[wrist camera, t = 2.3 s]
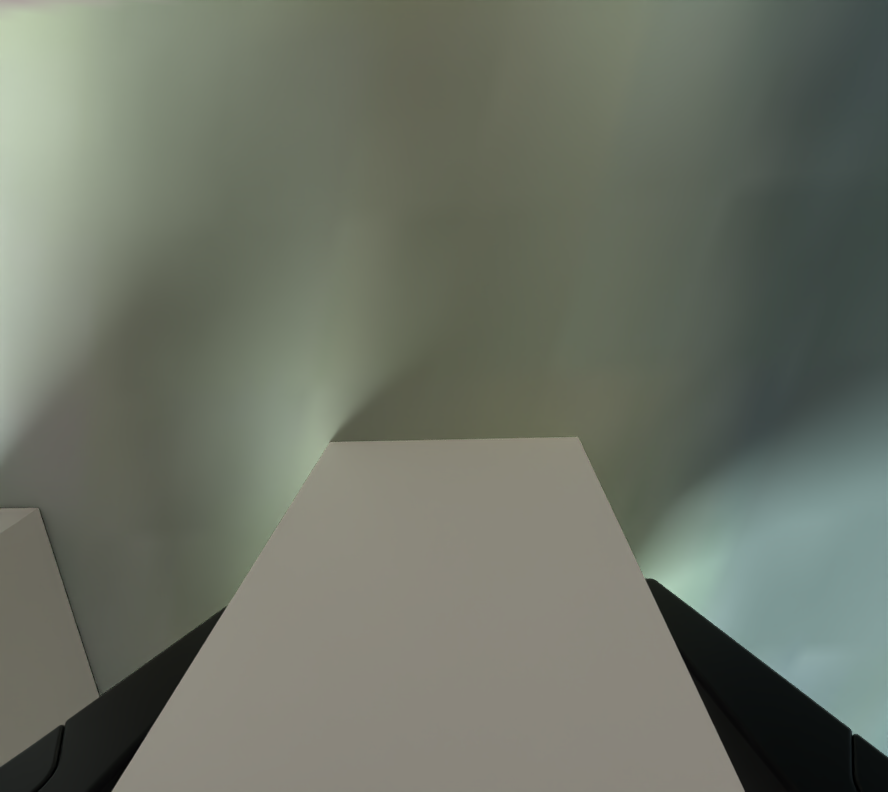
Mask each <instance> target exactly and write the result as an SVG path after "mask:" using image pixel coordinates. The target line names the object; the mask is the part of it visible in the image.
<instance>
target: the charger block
mask: <svg viewBox="0 0 888 792" xmlns="http://www.w3.org/2000/svg"><path fill="white" fill-rule="evenodd" d="M112 792H745V791H744V789H743V786H742V784H741V782H740V780H739V778H738V776H737V774H736V772H735V769H734V767H733V765H732V763H731V761H730V759H729V757H728V755H727V752H726V750H725V748H724V746H723V744H722V742H721V740H720V738H719V735H718V733H717V731H716V729H715V727H714V725H713V723H712V721H711V718H710V716H709V714H708V712H707V710H706V708H705V706H704V703H703V701H702V699H701V697H700V695H699V693H698V691H697V689H696V686H695V684H694V682H693V680H692V678H691V676H690V674H689V672H688V669H687V667H686V665H685V663H684V661H683V659H682V657H681V655H680V652H679V650H678V648H677V646H676V644H675V642H674V640H673V638H672V635H671V633H670V631H669V629H668V627H667V625H666V623H665V621H664V618H663V616H662V614H661V612H660V610H659V608H658V606H657V603H656V601H655V599H654V597H653V595H652V593H651V591H650V589H649V586H648V584H647V582H646V580H645V578H644V576H643V574H642V572H641V569H640V567H639V565H638V563H637V561H636V559H635V557H634V555H633V552H632V550H631V548H630V546H629V544H628V542H627V540H626V538H625V535H624V533H623V531H622V529H621V527H620V525H619V523H618V521H617V518H616V516H615V514H614V512H613V510H612V508H611V506H610V504H609V501H608V499H607V497H606V495H605V493H604V491H603V489H602V486H601V484H600V482H599V480H598V478H597V476H596V474H595V472H594V469H593V467H592V465H591V463H590V461H589V459H588V457H587V455H586V452H585V450H584V448H583V446H582V444H581V442H580V440H579V438H578V437H545V438H497V439H449V440H401V441H353V442H329V444H328V445H327V447H326V449H325V450H324V452H323V453H322V455H321V457H320V458H319V460H318V461H317V463H316V465H315V466H314V468H313V469H312V471H311V473H310V474H309V476H308V477H307V479H306V481H305V482H304V484H303V486H302V487H301V489H300V490H299V492H298V494H297V495H296V497H295V498H294V500H293V502H292V503H291V505H290V506H289V508H288V510H287V511H286V513H285V514H284V516H283V518H282V519H281V521H280V522H279V524H278V526H277V527H276V529H275V530H274V532H273V534H272V535H271V537H270V538H269V540H268V542H267V543H266V545H265V546H264V548H263V550H262V551H261V553H260V554H259V556H258V558H257V559H256V561H255V563H254V564H253V566H252V567H251V569H250V571H249V572H248V574H247V575H246V577H245V579H244V580H243V582H242V583H241V585H240V587H239V588H238V590H237V591H236V593H235V595H234V596H233V598H232V599H231V601H230V603H229V604H228V606H227V607H226V609H225V611H224V612H223V614H222V615H221V617H220V619H219V620H218V622H217V623H216V625H215V627H214V628H213V630H212V631H211V633H210V635H209V636H208V638H207V640H206V641H205V643H204V644H203V646H202V648H201V649H200V651H199V652H198V654H197V656H196V657H195V659H194V660H193V662H192V664H191V665H190V667H189V668H188V670H187V672H186V673H185V675H184V676H183V678H182V680H181V681H180V683H179V684H178V686H177V688H176V689H175V691H174V692H173V694H172V696H171V697H170V699H169V700H168V702H167V704H166V705H165V707H164V708H163V710H162V712H161V713H160V715H159V717H158V718H157V720H156V721H155V723H154V725H153V726H152V728H151V729H150V731H149V733H148V734H147V736H146V737H145V739H144V741H143V742H142V744H141V745H140V747H139V749H138V750H137V752H136V753H135V755H134V757H133V758H132V760H131V761H130V763H129V765H128V766H127V768H126V769H125V771H124V773H123V774H122V776H121V777H120V779H119V781H118V782H117V784H116V785H115V787H114V789H113V790H112Z"/></svg>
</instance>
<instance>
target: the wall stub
mask: <svg viewBox="0 0 888 792" xmlns="http://www.w3.org/2000/svg"><path fill="white" fill-rule="evenodd" d="M97 698H99V694H98V691H97V688H96V685H95V681H94V678H93V675H92V672H91V669H90V666H89V663H88V660H87V657H86V654H85V650H84V647H83V644H82V641H81V638H80V635H79V632H78V629H77V626H76V623H75V619H74V616H73V613H72V610H71V607H70V604H69V601H68V598H67V595H66V592H65V588H64V585H63V582H62V579H61V576H60V573H59V570H58V567H57V564H56V561H55V557H54V554H53V551H52V548H51V545H50V542H49V539H48V536H47V533H46V530H45V526H44V523H43V520H42V517H41V514H40V511H39V508H0V767H1V766H2V765H4V764H5V763H6V762H8V761H9V760H11V759H12V758H14V757H15V756H17V755H18V754H19V753H21V752H22V751H24V750H25V749H27V748H28V747H30V746H31V745H32V744H34V743H35V742H37V741H38V740H40V739H41V738H42V737H44V736H45V735H47V734H48V733H49V732H51V731H52V730H54V729H55V728H56V727H58V726H59V725H64V726H65V722H66V721H67V720H68V719H69V718H70V717H72V716H73V715H75V714H76V713H77V712H79V711H80V710H82V709H83V708H84V707H86V706H87V705H89V704H90V703H92V702H93V701H94V700H96V699H97Z"/></svg>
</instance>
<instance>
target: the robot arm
mask: <svg viewBox="0 0 888 792" xmlns="http://www.w3.org/2000/svg"><path fill="white" fill-rule="evenodd" d="M645 580H646V582H647V584H648V586H649V589H650V591H651V593H652V595H653V597H654V599H655V601H656V603H657V606H658V608H659V610H660V612H661V614H662V616H663V618H664V621H665V623H666V625H667V627H668V629H669V631H670V633H671V635H672V638H673V640H674V642H675V644H676V646H677V648H678V650H679V652H680V655H681V657H682V659H683V661H684V663H685V665H686V667H687V669H688V672H689V674H690V676H691V678H692V680H693V682H694V684H695V686H696V689H697V691H698V693H699V695H700V697H701V699H702V701H703V703H704V706H705V708H706V710H707V712H708V714H709V716H710V718H711V721H712V723H713V725H714V727H715V729H716V731H717V733H718V735H719V738H720V740H721V742H722V744H723V746H724V748H725V750H726V752H727V755H728V757H729V759H730V761H731V763H732V765H733V767H734V769H735V772H736V774H737V776H738V778H739V780H740V782H741V784H742V786H743V789H744V791H745V792H888V757H887V756H886V755H884V754H883V753H882V752H880V751H879V750H878V749H876V748H875V747H874V746H872V745H871V744H870V743H869V742H867V741H866V740H865V739H863V738H862V737H861V736H859V735H858V734H854V735H853V736H852V731H851V729H850V728H849V727H847V726H846V725H845V724H843V723H842V722H841V721H839V720H838V719H837V718H835V717H834V716H833V715H832V714H830V713H829V712H828V711H826V710H825V709H824V708H822V707H821V706H820V705H818V704H817V703H816V702H815V701H813V700H812V699H811V698H809V697H808V696H807V695H805V694H804V693H803V692H801V691H800V690H799V689H798V688H796V687H795V686H794V685H792V684H791V683H790V682H788V681H787V680H786V679H784V678H783V677H782V676H781V675H779V674H778V673H777V672H775V671H774V670H773V669H771V668H770V667H769V666H767V665H766V664H765V663H763V662H762V661H761V660H760V659H758V658H757V657H756V656H754V655H753V654H752V653H750V652H749V651H748V650H746V649H745V648H744V647H743V646H741V645H740V644H739V643H737V642H736V641H735V640H733V639H732V638H731V637H729V636H728V635H727V634H726V633H724V632H723V631H722V630H720V629H719V628H718V627H716V626H715V625H714V624H712V623H711V622H710V621H709V620H707V619H706V618H705V617H703V616H702V615H701V614H699V613H698V612H697V611H695V610H694V609H693V608H692V607H690V606H689V605H688V604H686V603H685V602H684V601H682V600H681V599H680V598H678V597H677V596H676V595H674V594H673V593H672V592H671V591H669V590H668V589H667V588H665V587H664V586H663V585H661V584H660V583H659V582H657V581H656V580H654V579H650V578H645ZM227 606H228V605H227ZM227 606H226V607H227ZM226 607H225V608H223V609H222V610H220V611H219V612H218V613H216V614H215V615H213V616H212V617H211V618H209V619H208V620H206V621H205V622H204V623H202V624H201V625H199V626H198V627H197V628H195V629H194V630H192V631H191V632H190V633H188V634H187V635H185V636H184V637H183V638H181V639H180V640H178V641H177V642H176V643H174V644H173V645H171V646H170V647H169V648H167V649H166V650H164V651H163V652H162V653H160V654H159V655H157V656H156V657H155V658H153V659H152V660H150V661H149V662H148V663H146V664H145V665H143V666H142V667H141V668H139V669H138V670H136V671H135V672H134V673H132V674H131V675H129V676H128V677H127V678H125V679H124V680H122V681H121V682H120V683H118V684H117V685H115V686H114V687H113V688H111V689H110V690H108V691H107V692H106V693H104V694H103V695H101V696H100V697H99V698H97V699H96V700H94V701H93V702H92V703H90V704H89V705H87V706H86V707H84V708H83V709H82V710H80V711H79V712H77V713H76V714H75V715H73V716H72V717H70V718H69V719H68V720H67V721H66V722H65V726H64V725H59V726H58V727H56V728H55V729H54V730H52V731H51V732H49V733H48V734H47V735H45V736H44V737H42V738H41V739H40V740H38V741H37V742H35V743H34V744H32V745H31V746H30V747H28V748H27V749H25V750H24V751H22V752H21V753H19V754H18V755H17V756H15V757H14V758H12V759H11V760H9V761H8V762H6V763H5V764H4V765H2V766H1V767H0V792H112V790H113V789H114V787H115V785H116V784H117V782H118V781H119V779H120V777H121V776H122V774H123V773H124V771H125V769H126V768H127V766H128V765H129V763H130V761H131V760H132V758H133V757H134V755H135V753H136V752H137V750H138V749H139V747H140V745H141V744H142V742H143V741H144V739H145V737H146V736H147V734H148V733H149V731H150V729H151V728H152V726H153V725H154V723H155V721H156V720H157V718H158V717H159V715H160V713H161V712H162V710H163V708H164V707H165V705H166V704H167V702H168V700H169V699H170V697H171V696H172V694H173V692H174V691H175V689H176V688H177V686H178V684H179V683H180V681H181V680H182V678H183V676H184V675H185V673H186V672H187V670H188V668H189V667H190V665H191V664H192V662H193V660H194V659H195V657H196V656H197V654H198V652H199V651H200V649H201V648H202V646H203V644H204V643H205V641H206V640H207V638H208V636H209V635H210V633H211V631H212V630H213V628H214V627H215V625H216V623H217V622H218V620H219V619H220V617H221V615H222V614H223V612H224V611H225V609H226Z"/></svg>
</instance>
